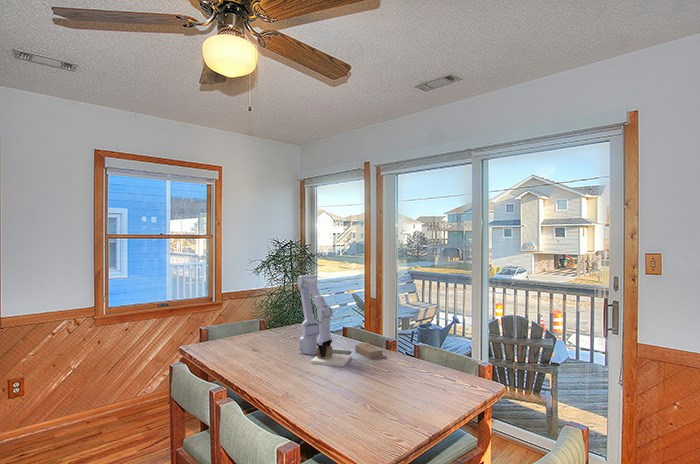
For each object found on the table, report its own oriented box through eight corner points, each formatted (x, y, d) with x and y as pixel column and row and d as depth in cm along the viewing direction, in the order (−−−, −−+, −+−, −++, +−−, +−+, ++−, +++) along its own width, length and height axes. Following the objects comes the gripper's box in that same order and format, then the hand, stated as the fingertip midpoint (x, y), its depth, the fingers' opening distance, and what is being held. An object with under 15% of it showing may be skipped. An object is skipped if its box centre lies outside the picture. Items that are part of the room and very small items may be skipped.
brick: (383, 357, 204) (383, 349, 204) (370, 360, 199) (370, 351, 199) (366, 350, 218) (366, 341, 218) (354, 352, 213) (354, 344, 213)
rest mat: (326, 354, 208) (326, 353, 208) (330, 350, 216) (330, 349, 216) (347, 356, 205) (347, 355, 205) (350, 352, 212) (350, 351, 212)
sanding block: (316, 357, 198) (316, 348, 198) (320, 354, 202) (320, 345, 202) (329, 358, 196) (329, 349, 196) (332, 355, 200) (332, 346, 200)
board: (310, 363, 194) (310, 360, 194) (320, 355, 207) (320, 352, 207) (343, 366, 189) (343, 363, 189) (351, 358, 202) (351, 355, 202)
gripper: (327, 333, 191) (327, 359, 191) (336, 326, 205) (336, 351, 205) (314, 332, 193) (314, 358, 193) (323, 325, 207) (323, 350, 207)
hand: (324, 354), depth 199 cm, fingers closed on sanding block, 5 cm apart
